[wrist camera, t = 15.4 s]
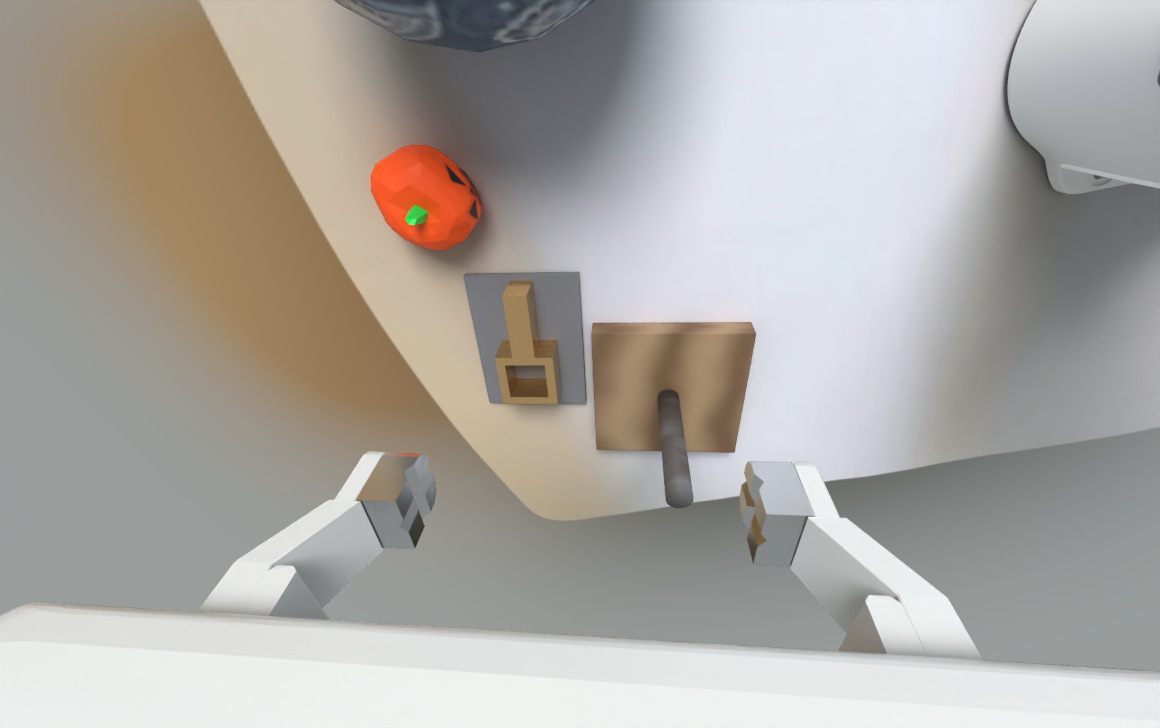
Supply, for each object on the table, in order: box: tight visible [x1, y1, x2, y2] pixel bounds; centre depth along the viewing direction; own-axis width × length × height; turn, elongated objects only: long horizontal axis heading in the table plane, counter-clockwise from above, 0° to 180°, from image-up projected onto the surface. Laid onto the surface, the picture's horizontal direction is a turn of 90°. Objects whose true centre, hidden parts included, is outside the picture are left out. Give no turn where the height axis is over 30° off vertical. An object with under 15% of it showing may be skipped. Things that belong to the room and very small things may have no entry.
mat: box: [464, 272, 586, 404], centre depth 44 cm, size 10×14×1 cm
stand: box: [592, 322, 756, 508], centre depth 40 cm, size 14×14×14 cm
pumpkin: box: [371, 145, 482, 251], centre depth 35 cm, size 7×8×6 cm
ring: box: [495, 280, 561, 404], centre depth 42 cm, size 5×11×3 cm, turn 3°
